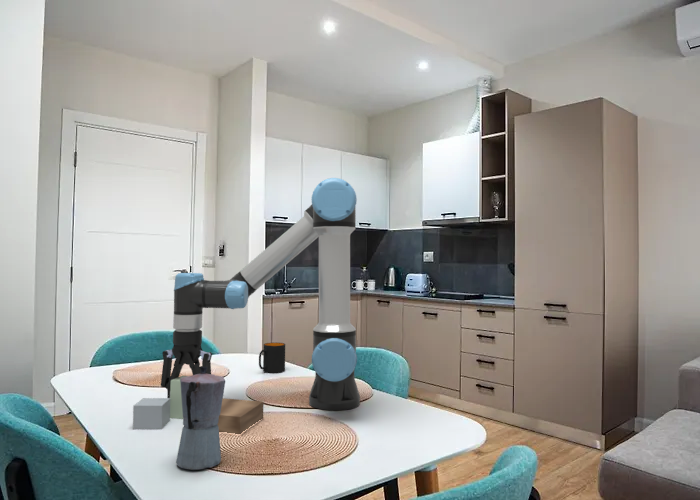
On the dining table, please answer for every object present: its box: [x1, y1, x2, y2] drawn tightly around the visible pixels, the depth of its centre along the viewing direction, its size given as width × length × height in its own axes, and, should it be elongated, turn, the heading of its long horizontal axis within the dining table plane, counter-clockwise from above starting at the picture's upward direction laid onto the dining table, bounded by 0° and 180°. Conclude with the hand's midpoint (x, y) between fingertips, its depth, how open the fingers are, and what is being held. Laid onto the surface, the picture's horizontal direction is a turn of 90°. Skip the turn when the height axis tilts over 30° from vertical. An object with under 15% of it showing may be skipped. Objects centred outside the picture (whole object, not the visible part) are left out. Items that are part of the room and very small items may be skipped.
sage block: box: [170, 375, 188, 420], centre depth 139 cm, size 6×6×10 cm
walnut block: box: [217, 397, 264, 434], centre depth 132 cm, size 14×14×5 cm
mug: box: [258, 342, 286, 374], centre depth 195 cm, size 8×12×10 cm
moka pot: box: [175, 365, 226, 471], centre depth 106 cm, size 10×15×20 cm, turn 2°
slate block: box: [132, 397, 171, 431], centre depth 131 cm, size 7×7×6 cm
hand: (185, 414), depth 139 cm, fingers open, 7 cm apart
